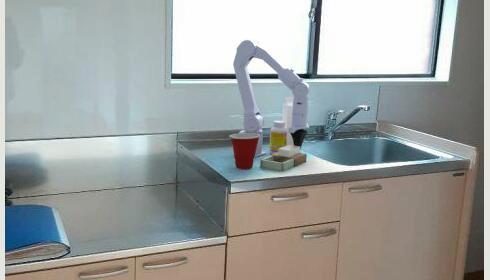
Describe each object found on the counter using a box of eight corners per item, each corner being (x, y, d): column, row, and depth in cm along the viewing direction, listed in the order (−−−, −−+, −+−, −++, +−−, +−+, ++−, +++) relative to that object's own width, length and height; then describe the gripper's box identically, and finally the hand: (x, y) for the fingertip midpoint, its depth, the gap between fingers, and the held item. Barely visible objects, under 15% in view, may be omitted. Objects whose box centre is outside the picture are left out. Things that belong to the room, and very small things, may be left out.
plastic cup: (238, 162, 197) (239, 130, 195) (264, 167, 192) (265, 134, 190) (222, 168, 188) (223, 134, 186) (248, 173, 183) (250, 138, 180)
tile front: (278, 155, 198) (278, 148, 197) (283, 153, 202) (283, 146, 201) (289, 157, 196) (289, 150, 195) (294, 155, 199) (294, 148, 199)
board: (270, 162, 199) (270, 154, 199) (282, 157, 208) (282, 150, 207) (294, 166, 194) (295, 158, 194) (306, 161, 203) (306, 153, 202)
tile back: (283, 153, 202) (284, 146, 201) (288, 151, 206) (289, 144, 205) (294, 155, 200) (295, 148, 199) (299, 152, 204) (300, 146, 203)
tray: (259, 167, 191) (260, 159, 191) (271, 162, 199) (271, 155, 198) (282, 171, 187) (283, 163, 186) (293, 166, 195) (294, 158, 194)
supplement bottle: (286, 155, 212) (288, 123, 210) (269, 154, 212) (271, 122, 210) (285, 151, 219) (287, 120, 216) (269, 151, 219) (270, 119, 216)
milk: (298, 151, 220) (302, 98, 216) (284, 152, 218) (288, 97, 214) (293, 148, 226) (297, 96, 221) (279, 148, 224) (283, 95, 220)
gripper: (301, 117, 196) (299, 153, 199) (316, 112, 209) (314, 147, 211) (284, 114, 200) (282, 150, 202) (300, 110, 212) (298, 144, 215)
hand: (297, 148), depth 207 cm, fingers closed
